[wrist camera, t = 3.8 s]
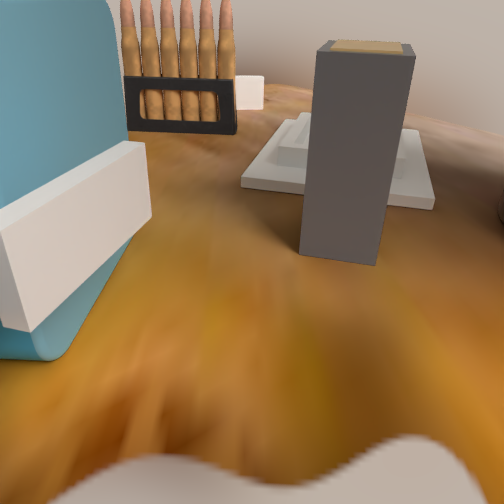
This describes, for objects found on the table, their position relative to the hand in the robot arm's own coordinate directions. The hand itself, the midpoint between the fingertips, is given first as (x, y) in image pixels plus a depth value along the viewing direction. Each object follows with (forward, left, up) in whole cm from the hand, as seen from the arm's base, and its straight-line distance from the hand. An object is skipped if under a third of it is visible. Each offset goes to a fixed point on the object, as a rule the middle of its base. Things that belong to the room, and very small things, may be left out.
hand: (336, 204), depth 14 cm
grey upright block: (0, -10, -6) cm, 12 cm away
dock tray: (+1, -24, -6) cm, 25 cm away
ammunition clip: (+17, -28, -7) cm, 33 cm away
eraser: (+14, -39, -7) cm, 42 cm away
